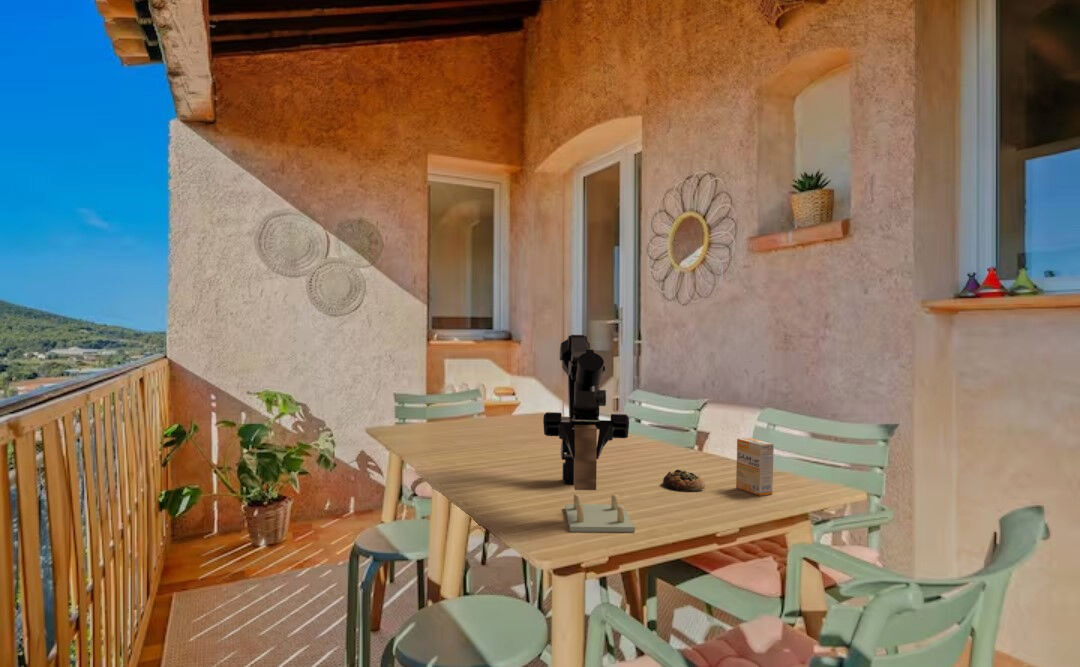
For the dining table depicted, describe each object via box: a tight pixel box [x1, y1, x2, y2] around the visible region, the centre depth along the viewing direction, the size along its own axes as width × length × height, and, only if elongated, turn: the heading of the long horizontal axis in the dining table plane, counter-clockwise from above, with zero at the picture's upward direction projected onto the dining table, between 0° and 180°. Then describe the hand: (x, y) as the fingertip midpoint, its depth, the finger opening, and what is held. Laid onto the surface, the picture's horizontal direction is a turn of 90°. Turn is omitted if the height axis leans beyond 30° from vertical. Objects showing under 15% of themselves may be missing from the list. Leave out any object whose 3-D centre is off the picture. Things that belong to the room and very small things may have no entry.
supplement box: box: [735, 437, 775, 497], centre depth 144 cm, size 8×5×13 cm, turn 25°
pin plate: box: [564, 493, 636, 533], centre depth 120 cm, size 13×15×4 cm
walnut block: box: [573, 425, 598, 491], centre depth 120 cm, size 4×4×13 cm
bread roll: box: [662, 469, 706, 492], centre depth 148 cm, size 11×11×5 cm
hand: (585, 457), depth 119 cm, fingers closed on walnut block, 5 cm apart
